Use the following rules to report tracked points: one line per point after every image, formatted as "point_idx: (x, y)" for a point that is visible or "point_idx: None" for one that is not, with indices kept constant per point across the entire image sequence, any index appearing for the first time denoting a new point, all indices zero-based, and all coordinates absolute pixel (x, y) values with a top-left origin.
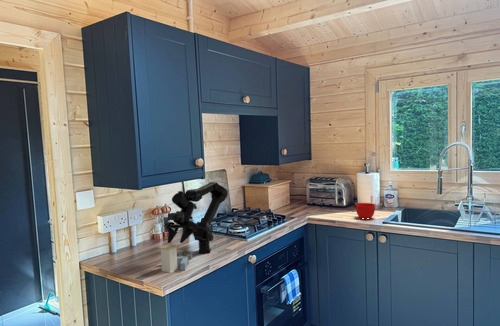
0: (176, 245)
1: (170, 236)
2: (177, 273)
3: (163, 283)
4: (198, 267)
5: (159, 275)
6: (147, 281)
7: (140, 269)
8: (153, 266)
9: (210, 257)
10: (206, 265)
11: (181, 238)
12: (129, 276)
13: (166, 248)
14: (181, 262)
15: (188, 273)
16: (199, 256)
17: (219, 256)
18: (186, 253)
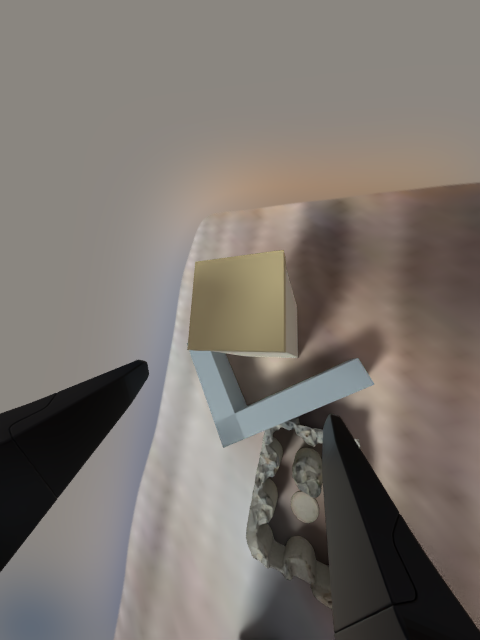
0: (188, 347)
1: (345, 505)
2: None
3: (210, 226)
4: (174, 398)
5: None
6: (272, 207)
7: (424, 273)
8: (389, 335)
9: (181, 557)
10: (155, 431)
11: (107, 375)
12: (391, 194)
13: (221, 259)
14: None
15: (180, 328)
16: (244, 571)
17: (148, 582)
18: (323, 581)
